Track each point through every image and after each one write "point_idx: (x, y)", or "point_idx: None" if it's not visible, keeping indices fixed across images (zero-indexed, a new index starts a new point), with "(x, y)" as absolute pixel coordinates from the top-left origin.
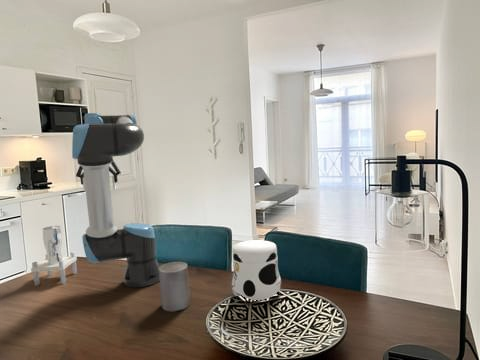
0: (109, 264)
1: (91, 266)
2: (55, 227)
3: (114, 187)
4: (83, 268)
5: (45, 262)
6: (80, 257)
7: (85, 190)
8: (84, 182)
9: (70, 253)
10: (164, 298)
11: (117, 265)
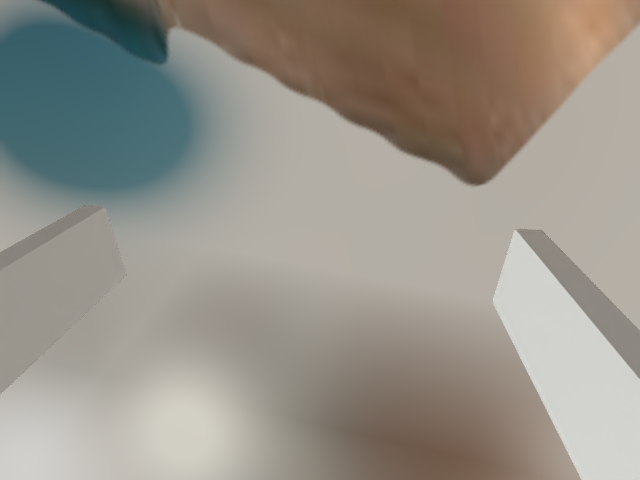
0: (322, 34)
1: (396, 27)
2: None
3: (62, 220)
4: (428, 5)
5: None
6: (465, 176)
7: (521, 237)
8: (608, 338)
9: None
10: None
11: (283, 8)
